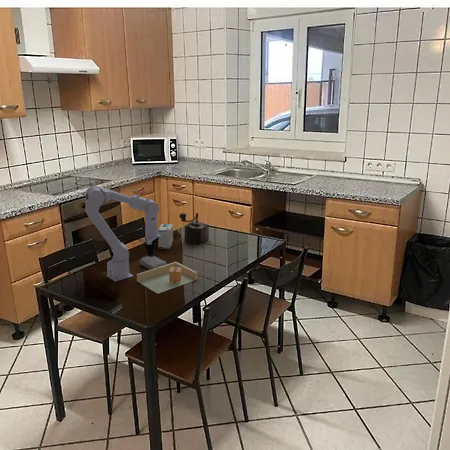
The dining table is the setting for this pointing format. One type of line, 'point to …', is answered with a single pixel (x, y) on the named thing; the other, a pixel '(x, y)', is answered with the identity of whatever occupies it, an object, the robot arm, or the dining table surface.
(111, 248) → the robot arm
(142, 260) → the stone block
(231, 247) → the dining table surface
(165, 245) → the light bulb box
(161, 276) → the tray
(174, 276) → the cube
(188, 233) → the pepper mill
